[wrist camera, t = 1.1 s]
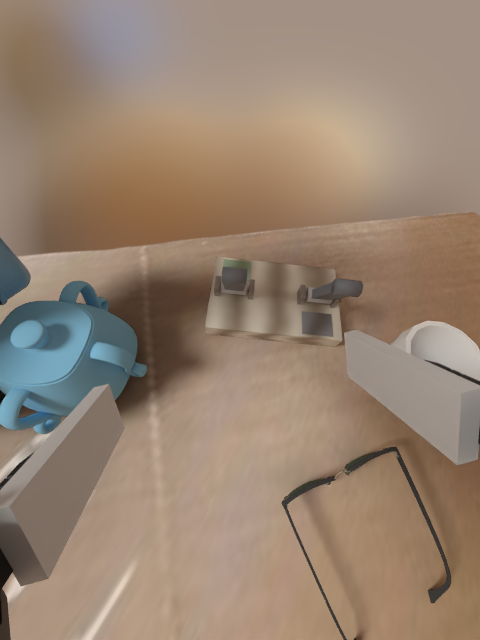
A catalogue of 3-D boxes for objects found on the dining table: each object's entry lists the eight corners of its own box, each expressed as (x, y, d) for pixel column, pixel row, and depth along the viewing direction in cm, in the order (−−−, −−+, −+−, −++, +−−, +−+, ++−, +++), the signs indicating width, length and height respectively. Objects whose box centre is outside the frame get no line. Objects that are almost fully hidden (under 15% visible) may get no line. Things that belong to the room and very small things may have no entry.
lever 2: (304, 302, 41) (332, 294, 29) (305, 288, 41) (334, 275, 29) (327, 304, 41) (365, 298, 29) (328, 290, 41) (367, 278, 29)
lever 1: (222, 293, 41) (216, 282, 29) (223, 279, 41) (218, 262, 29) (245, 296, 41) (250, 286, 29) (247, 282, 41) (252, 266, 29)
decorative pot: (45, 445, 33) (-61, 454, 21) (22, 345, 38) (-73, 305, 26) (159, 386, 37) (128, 364, 25) (125, 303, 42) (84, 251, 30)
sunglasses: (335, 664, 26) (358, 713, 22) (272, 489, 33) (280, 499, 28) (451, 587, 30) (492, 615, 25) (374, 441, 36) (395, 443, 31)
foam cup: (414, 370, 41) (492, 345, 29) (401, 422, 37) (485, 418, 25) (360, 342, 42) (414, 308, 30) (343, 390, 38) (396, 372, 27)
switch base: (206, 333, 41) (203, 320, 36) (216, 266, 47) (215, 247, 42) (334, 346, 41) (349, 335, 37) (328, 278, 47) (340, 260, 42)
